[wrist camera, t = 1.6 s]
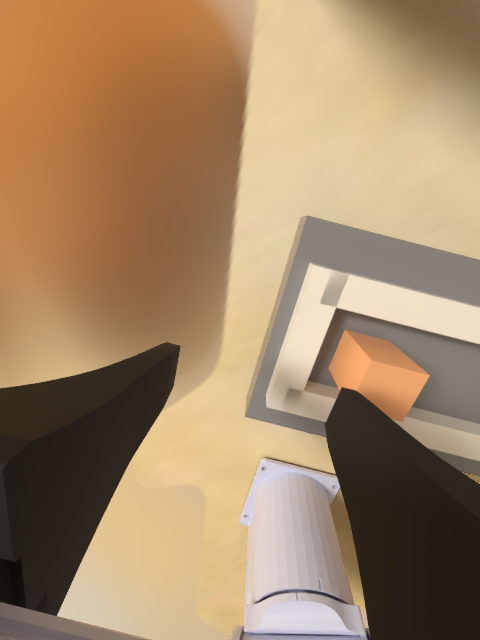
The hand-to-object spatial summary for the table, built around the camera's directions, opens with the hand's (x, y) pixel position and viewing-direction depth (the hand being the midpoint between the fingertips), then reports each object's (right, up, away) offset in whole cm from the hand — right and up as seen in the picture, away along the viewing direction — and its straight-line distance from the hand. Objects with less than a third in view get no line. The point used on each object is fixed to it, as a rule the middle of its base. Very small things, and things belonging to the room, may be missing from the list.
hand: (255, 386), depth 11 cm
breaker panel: (+13, 0, +9) cm, 16 cm away
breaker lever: (+7, 0, +6) cm, 10 cm away
